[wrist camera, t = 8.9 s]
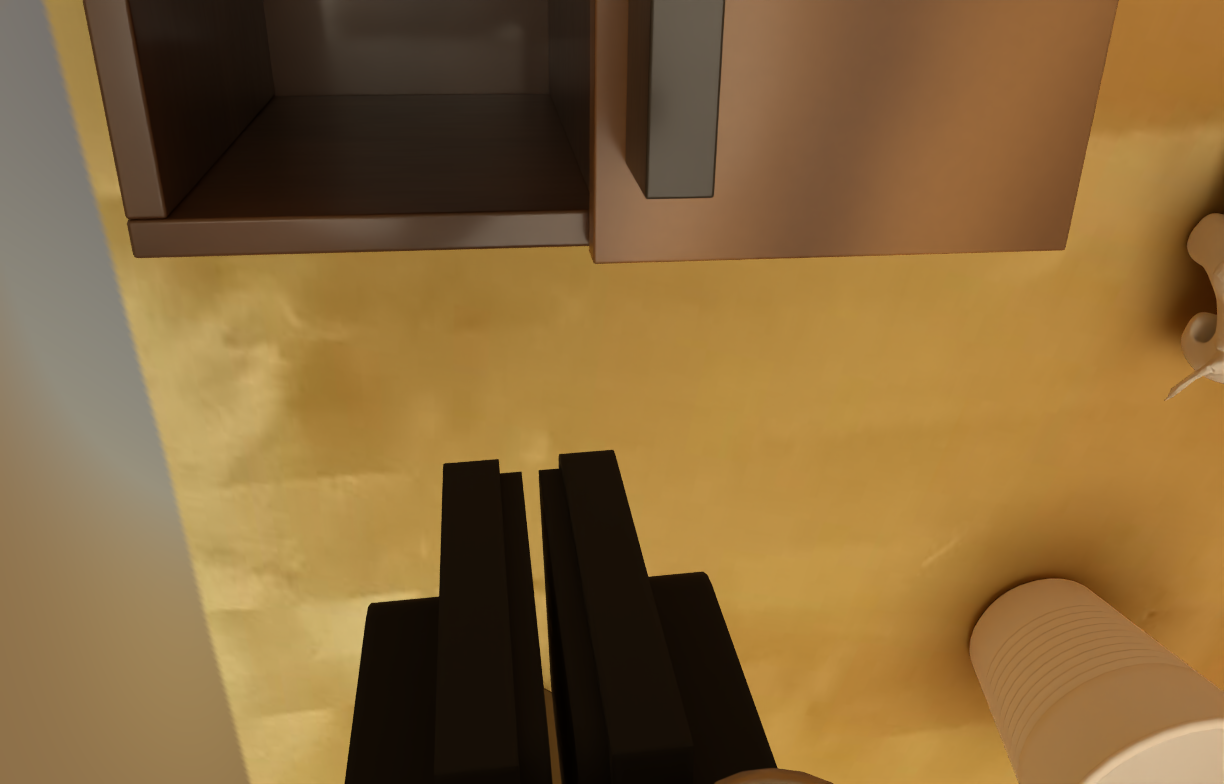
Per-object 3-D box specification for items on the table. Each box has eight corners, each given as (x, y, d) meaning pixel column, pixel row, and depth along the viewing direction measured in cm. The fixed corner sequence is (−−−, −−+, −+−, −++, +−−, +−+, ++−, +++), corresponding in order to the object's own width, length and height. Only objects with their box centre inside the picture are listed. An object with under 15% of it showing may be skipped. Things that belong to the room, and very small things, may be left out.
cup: (1032, 500, 43) (1197, 680, 34) (1181, 594, 47) (1370, 783, 37) (880, 663, 46) (991, 873, 37) (1030, 741, 50) (1168, 952, 40)
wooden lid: (588, 251, 21) (609, 311, 18) (591, -334, 17) (617, -379, 14) (1046, 239, 23) (1133, 293, 20) (1160, -312, 18) (1294, -348, 15)
